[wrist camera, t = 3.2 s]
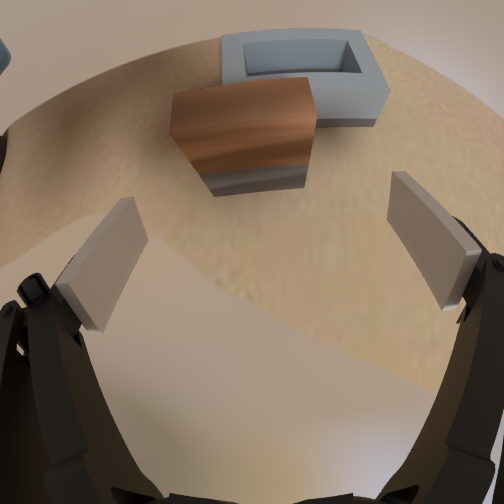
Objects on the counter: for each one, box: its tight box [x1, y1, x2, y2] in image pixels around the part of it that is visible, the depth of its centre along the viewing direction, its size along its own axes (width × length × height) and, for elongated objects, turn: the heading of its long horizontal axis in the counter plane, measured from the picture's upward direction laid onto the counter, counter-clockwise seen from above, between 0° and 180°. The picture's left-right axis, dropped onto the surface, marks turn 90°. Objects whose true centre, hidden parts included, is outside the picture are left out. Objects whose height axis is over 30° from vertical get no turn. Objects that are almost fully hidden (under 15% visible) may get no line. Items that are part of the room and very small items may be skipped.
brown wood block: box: [170, 77, 317, 197], centre depth 19 cm, size 3×8×11 cm, turn 94°
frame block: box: [221, 28, 390, 127], centre depth 23 cm, size 9×14×6 cm, turn 94°
